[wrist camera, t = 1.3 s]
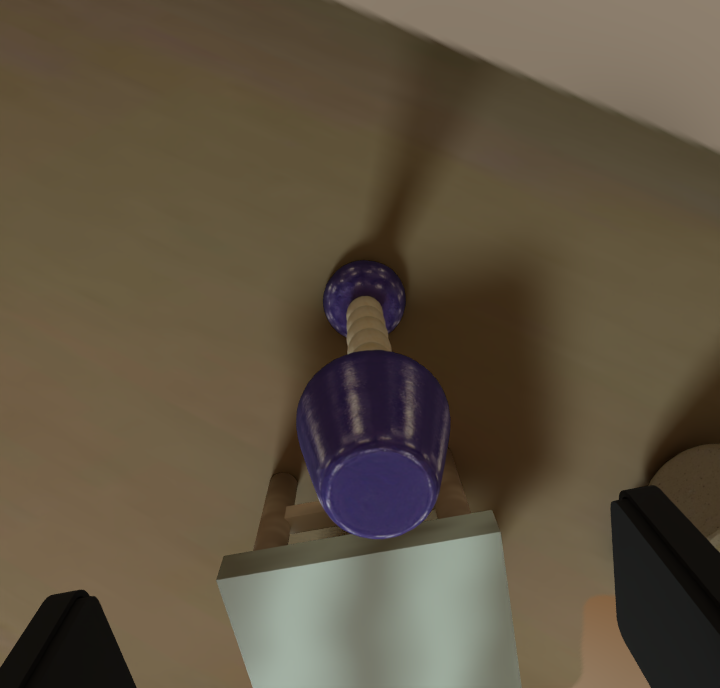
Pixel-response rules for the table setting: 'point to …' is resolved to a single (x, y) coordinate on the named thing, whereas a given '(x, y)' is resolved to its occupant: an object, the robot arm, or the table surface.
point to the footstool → (373, 600)
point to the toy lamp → (372, 414)
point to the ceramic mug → (695, 487)
